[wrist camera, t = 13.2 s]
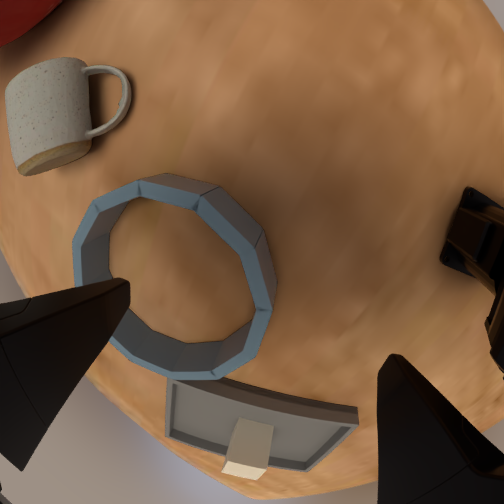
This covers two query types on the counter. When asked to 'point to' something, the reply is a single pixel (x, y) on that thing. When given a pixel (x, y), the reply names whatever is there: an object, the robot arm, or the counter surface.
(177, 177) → the blue ring
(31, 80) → the ceramic mug
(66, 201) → the counter surface
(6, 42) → the mixing bowl
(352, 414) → the tray
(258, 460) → the beige rectangular block
